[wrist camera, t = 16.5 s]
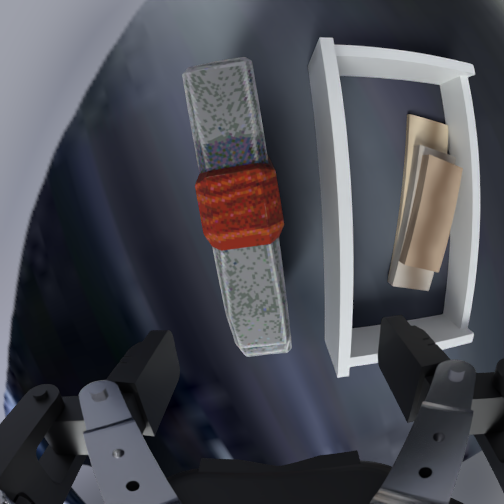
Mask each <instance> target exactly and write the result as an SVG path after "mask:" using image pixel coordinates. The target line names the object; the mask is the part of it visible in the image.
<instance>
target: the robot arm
mask: <svg viewBox="0 0 504 504" xmlns="http://www.w3.org/2000/svg"><path fill="white" fill-rule="evenodd" d="M378 364H379V367H380V369H381V371H382V373H383V375H384V377H385V379H386V381H387V383H388V385H389V387H390V389H391V391H392V393H393V395H394V397H395V399H396V401H397V403H398V405H399V407H400V409H401V411H402V413H403V415H404V417H405V419H406V421H407V423H409V422H413V421H414V423H413V426H412V428H411V430H410V432H409V434H408V437H407V439H406V441H405V443H404V445H403V447H402V449H401V451H400V453H399V455H398V457H397V459H396V461H395V463H394V465H393V467H391V466H389V465H385V464H382V463H377V462H371V461H360V459H359V455H358V452H357V451H351V452H344V453H337V454H329V455H320V456H317V457H313V458H310V459H306V460H303V461H299V462H295V463H292V464H288V465H284V466H273V465H266V464H260V463H254V462H249V461H244V460H232V459H206V458H201V463H200V467H199V469H193V470H188V471H184V472H181V473H177V474H175V475H172V476H170V477H168V478H165V476H164V474H163V473H162V471H161V469H160V467H159V466H158V464H157V462H156V460H155V459H154V457H153V455H152V453H151V451H150V449H149V448H148V446H147V444H146V442H145V440H144V438H143V436H142V435H148V436H155V434H156V431H157V429H158V427H159V424H160V422H161V419H162V417H163V415H164V412H165V410H166V408H167V405H168V403H169V401H170V398H171V396H172V394H173V391H174V389H175V387H176V384H177V382H178V379H179V373H180V369H179V362H178V358H177V354H176V349H175V344H174V340H173V335H172V333H171V331H158V330H152V331H150V332H149V334H148V335H147V337H146V338H145V339H144V341H143V342H139V343H137V344H136V345H134V346H133V347H131V348H130V349H129V350H128V351H127V353H126V354H125V355H124V357H123V358H122V359H121V361H120V363H118V365H117V366H116V367H115V369H114V370H113V371H112V373H111V374H110V375H109V377H108V378H107V379H106V380H102V381H96V382H93V383H90V384H88V385H86V386H85V387H84V388H83V389H82V390H81V391H80V393H79V396H72V397H61V395H60V392H59V390H58V388H57V387H56V386H54V385H51V384H43V385H39V386H36V387H34V388H32V389H31V390H29V391H28V392H27V393H26V395H25V396H24V397H23V398H22V399H21V400H20V401H19V403H18V404H17V405H16V406H15V407H14V408H13V409H12V411H11V412H10V413H9V414H8V415H7V417H6V418H5V419H4V420H3V421H2V423H1V424H0V504H63V503H64V501H65V499H66V497H67V495H68V492H69V490H70V488H71V486H72V484H73V482H74V480H75V478H76V476H77V474H78V472H79V470H80V468H81V466H82V464H83V462H84V460H85V458H86V456H87V455H89V458H90V461H91V465H92V468H93V471H94V474H95V478H96V481H97V483H98V487H99V490H100V492H101V495H102V498H103V501H104V503H105V504H463V503H461V502H459V501H457V500H455V499H453V498H451V495H452V492H453V490H454V487H455V483H456V480H457V477H458V474H459V471H460V467H461V464H462V461H463V457H464V453H465V449H466V445H467V441H468V437H469V435H474V436H475V438H476V440H477V441H478V443H479V445H480V447H481V449H482V451H483V452H484V454H485V456H486V458H487V460H488V462H489V464H490V466H491V468H492V470H493V471H494V474H495V476H496V478H497V480H498V482H499V484H500V486H501V488H502V490H503V492H504V358H503V359H501V360H500V361H499V362H498V363H497V366H496V369H495V372H491V373H476V370H475V368H474V367H473V366H472V365H471V364H469V363H467V362H465V361H461V360H450V359H449V358H448V356H447V355H446V354H445V353H444V352H443V351H442V349H441V348H440V347H439V346H438V345H437V344H436V343H435V342H434V340H433V339H431V337H430V336H429V335H428V334H427V333H426V332H425V331H424V330H423V329H421V328H419V327H417V326H415V325H413V326H411V325H410V324H409V323H408V321H407V320H406V319H405V318H404V317H403V316H402V315H397V316H389V317H383V318H382V320H381V326H380V337H379V346H378ZM44 436H45V438H46V440H47V441H48V443H49V446H48V447H47V449H46V450H45V452H44V454H43V455H42V457H41V458H40V460H39V461H38V460H37V457H36V449H37V447H38V445H39V444H40V442H41V441H42V439H43V438H44Z"/></svg>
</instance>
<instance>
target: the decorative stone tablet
mask: <svg viewBox="0 0 504 504" xmlns="http://www.w3.org/2000/svg"><path fill="white" fill-rule="evenodd" d="M182 76H183V82H184V88H185V94H186V100H187V106H188V112H189V118H190V124H191V129H192V135H193V141H194V146H195V152H196V157H197V162H198V168H199V173H200V174H199V176H198V179H197V182H196V184H195V189H196V194H197V200H198V206H199V211H200V217H201V222H202V227H203V233H204V235H205V237H206V238H207V239H208V241H209V242H210V244H211V245H212V247H213V252H214V257H215V262H216V267H217V273H218V278H219V283H220V288H221V293H222V297H223V302H224V307H225V312H226V316H227V319H228V322H229V325H230V328H231V331H232V334H233V337H234V340H235V343H236V345H237V346H238V347H239V348H240V350H241V351H242V352H243V353H244V355H245V356H248V357H250V356H258V355H266V354H277V353H288V352H289V350H290V349H291V348H292V347H291V334H290V324H289V315H288V306H287V297H286V289H285V281H284V273H283V265H282V257H281V250H280V242H279V236H280V233H281V231H282V228H283V226H284V219H283V213H282V207H281V201H280V195H279V189H278V183H277V177H276V171H275V169H274V166H273V164H272V162H271V160H270V158H269V156H268V155H267V150H266V144H265V137H264V131H263V125H262V118H261V112H260V106H259V100H258V94H257V88H256V82H255V76H254V70H253V64H252V61H251V60H250V59H248V58H246V57H239V58H233V59H227V60H221V61H216V62H211V63H206V64H201V65H196V66H192V67H188V68H187V70H186V71H185V72H184V73H183V75H182Z"/></svg>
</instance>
